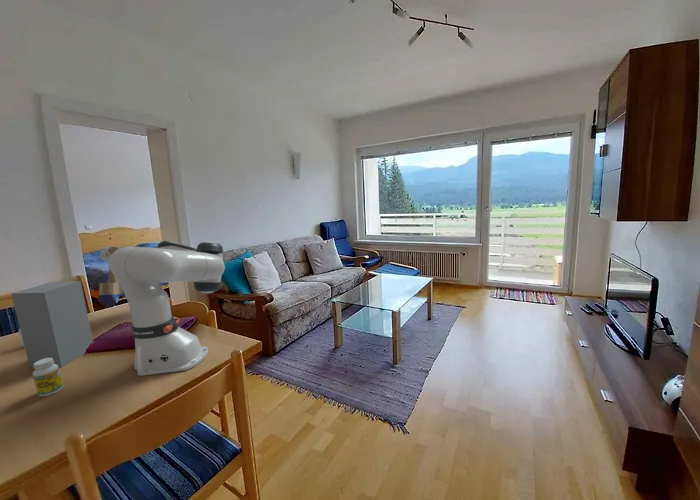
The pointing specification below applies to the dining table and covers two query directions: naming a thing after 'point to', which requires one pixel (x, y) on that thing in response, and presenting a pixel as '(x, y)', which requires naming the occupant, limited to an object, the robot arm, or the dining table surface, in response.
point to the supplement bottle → (47, 377)
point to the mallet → (111, 282)
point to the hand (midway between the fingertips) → (112, 249)
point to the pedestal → (53, 322)
